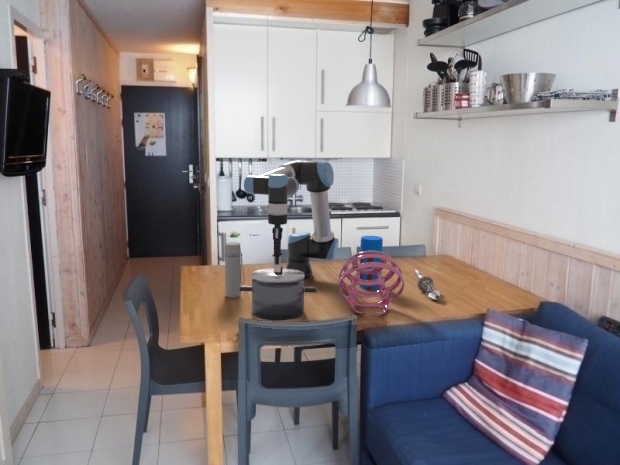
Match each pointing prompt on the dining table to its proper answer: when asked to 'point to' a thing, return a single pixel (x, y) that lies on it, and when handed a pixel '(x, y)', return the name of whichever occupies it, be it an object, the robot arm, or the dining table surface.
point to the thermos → (366, 245)
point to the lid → (278, 276)
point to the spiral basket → (379, 281)
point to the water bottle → (233, 269)
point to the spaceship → (427, 285)
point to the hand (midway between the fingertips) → (277, 271)
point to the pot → (277, 299)
